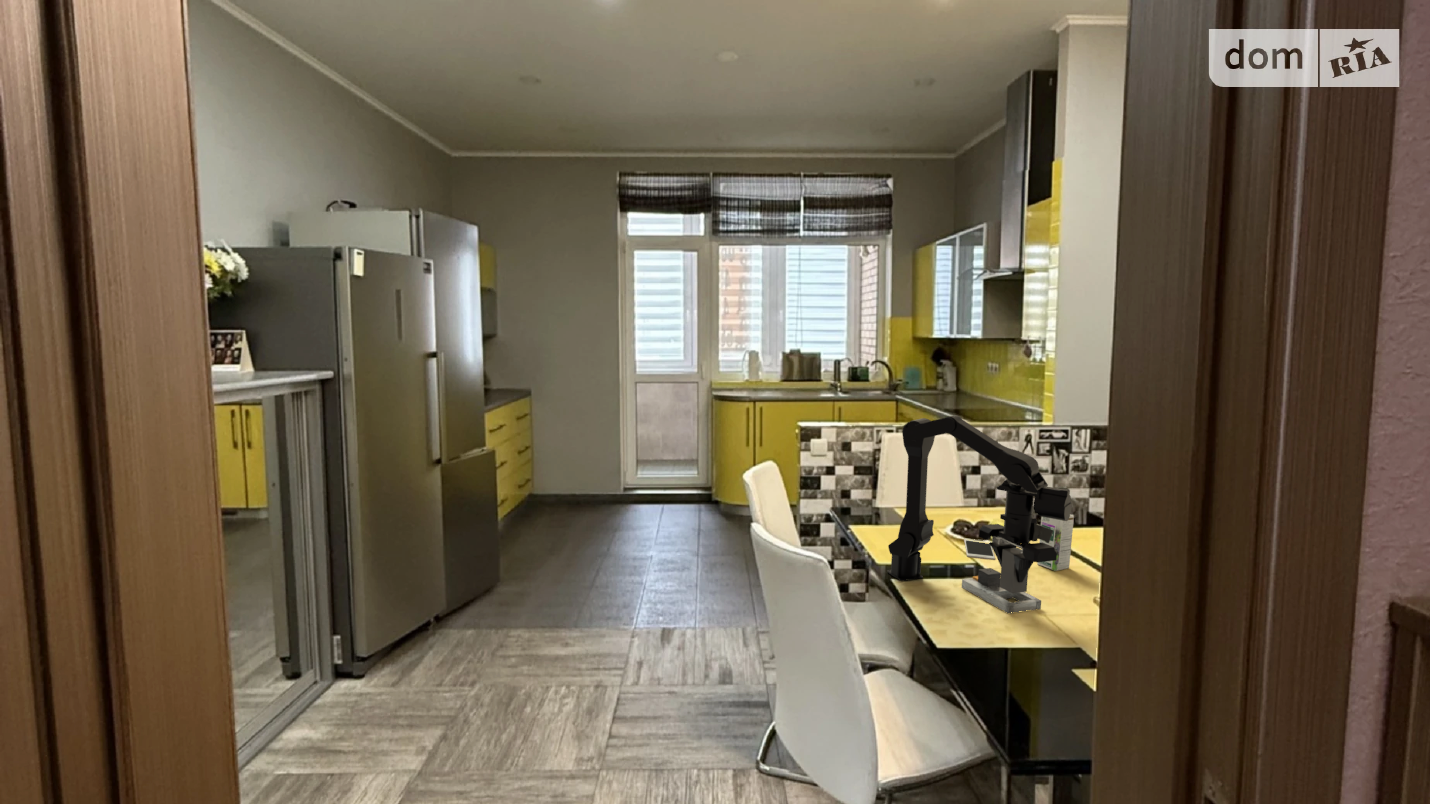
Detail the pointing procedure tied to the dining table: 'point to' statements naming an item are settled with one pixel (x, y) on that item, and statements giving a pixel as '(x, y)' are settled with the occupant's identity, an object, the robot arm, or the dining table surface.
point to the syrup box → (1059, 542)
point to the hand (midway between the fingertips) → (1013, 578)
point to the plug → (1011, 572)
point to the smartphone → (979, 550)
